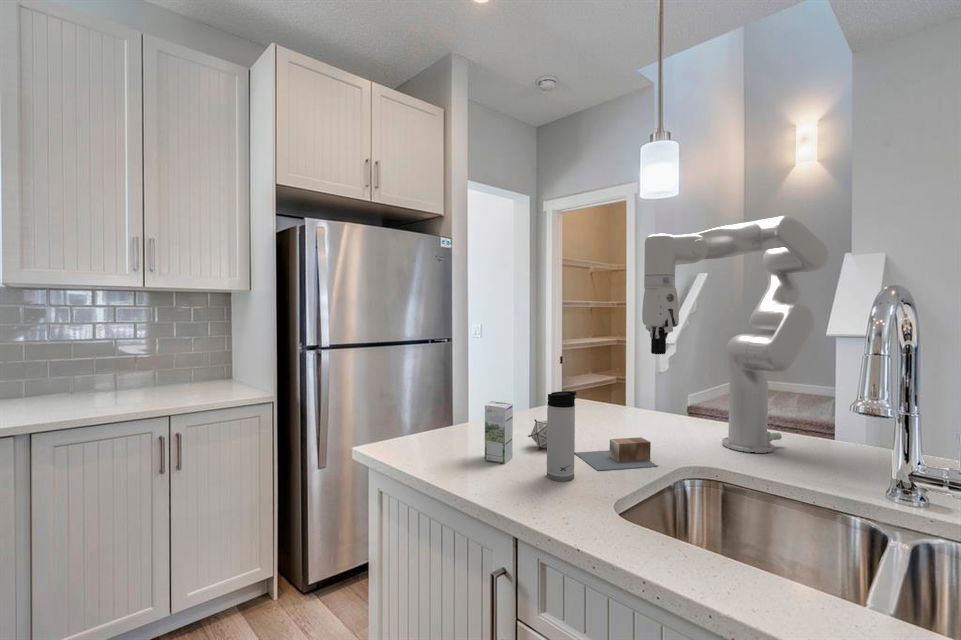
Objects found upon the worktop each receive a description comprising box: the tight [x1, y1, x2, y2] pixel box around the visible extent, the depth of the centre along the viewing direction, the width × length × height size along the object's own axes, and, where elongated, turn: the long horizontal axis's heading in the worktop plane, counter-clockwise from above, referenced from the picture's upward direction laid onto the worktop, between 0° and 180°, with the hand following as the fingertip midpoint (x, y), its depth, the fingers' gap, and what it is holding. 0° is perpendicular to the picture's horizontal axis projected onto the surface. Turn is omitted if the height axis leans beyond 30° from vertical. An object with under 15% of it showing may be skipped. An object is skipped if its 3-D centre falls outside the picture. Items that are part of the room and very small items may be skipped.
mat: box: [574, 449, 659, 472], centre depth 125 cm, size 16×14×1 cm
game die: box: [527, 418, 547, 451], centre depth 135 cm, size 9×8×10 cm
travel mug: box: [546, 390, 577, 482], centre depth 112 cm, size 6×7×20 cm
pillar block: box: [609, 436, 652, 462], centre depth 126 cm, size 4×4×9 cm
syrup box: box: [484, 400, 514, 464], centre depth 125 cm, size 6×6×14 cm
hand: (658, 353), depth 127 cm, fingers closed
